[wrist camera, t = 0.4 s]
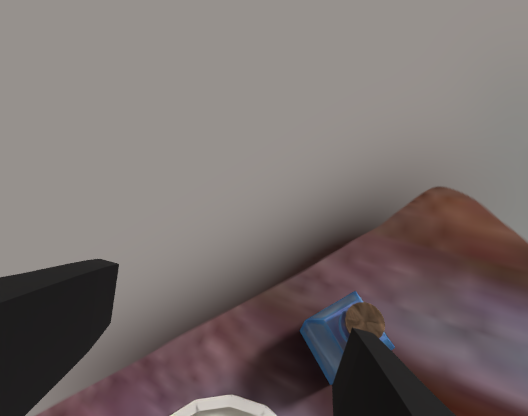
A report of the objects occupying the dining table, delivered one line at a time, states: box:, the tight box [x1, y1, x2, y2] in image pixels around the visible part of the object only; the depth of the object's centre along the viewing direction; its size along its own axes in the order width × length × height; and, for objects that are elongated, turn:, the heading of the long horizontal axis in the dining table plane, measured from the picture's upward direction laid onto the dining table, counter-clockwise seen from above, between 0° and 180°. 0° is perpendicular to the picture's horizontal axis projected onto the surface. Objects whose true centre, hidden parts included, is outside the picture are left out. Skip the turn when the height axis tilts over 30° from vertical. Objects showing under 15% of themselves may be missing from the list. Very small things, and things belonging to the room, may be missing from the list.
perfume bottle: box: [300, 291, 395, 385], centre depth 30 cm, size 6×6×12 cm
